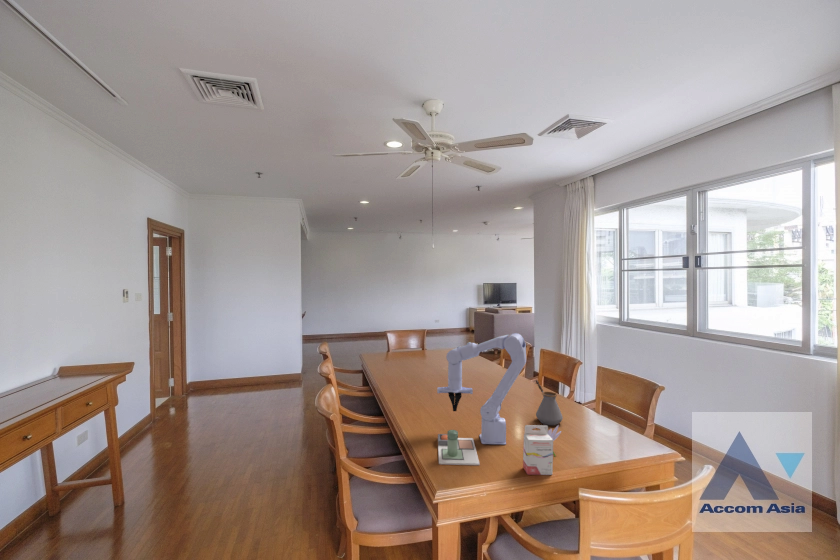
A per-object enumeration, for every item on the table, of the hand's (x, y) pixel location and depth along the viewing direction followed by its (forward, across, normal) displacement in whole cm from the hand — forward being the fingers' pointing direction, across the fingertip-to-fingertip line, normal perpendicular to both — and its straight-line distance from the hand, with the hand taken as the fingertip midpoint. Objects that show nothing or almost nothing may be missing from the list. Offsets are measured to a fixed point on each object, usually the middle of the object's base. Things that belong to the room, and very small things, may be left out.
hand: (454, 410), depth 152 cm
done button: (+9, -4, -10) cm, 14 cm away
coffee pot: (+10, +43, +19) cm, 48 cm away
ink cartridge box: (+10, +26, -29) cm, 40 cm away
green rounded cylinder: (+8, -2, -20) cm, 22 cm away
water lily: (+10, +33, -14) cm, 37 cm away
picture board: (+9, 0, -16) cm, 19 cm away
